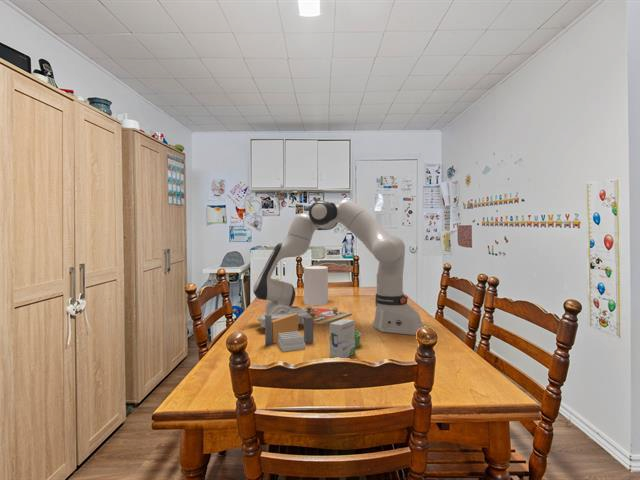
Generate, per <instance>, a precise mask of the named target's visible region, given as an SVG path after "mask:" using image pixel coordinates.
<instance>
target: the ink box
mask: <svg viewBox="0 0 640 480" xmlns="http://www.w3.org/2000/svg"><path fill="white" fill-rule="evenodd" d="M328 325H329V330H328V332H329V358H331V357H340V358H346V359H348V358H349V357H352V356H353V355H355V354H356V348H355V331H356V330H355V328H356V327H355V320H353V319H347V318H342V319H340V320H337V321H334V322H332V323H329V324H328Z"/></svg>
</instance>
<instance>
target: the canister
mask: <svg viewBox="0 0 640 480" xmlns="http://www.w3.org/2000/svg"><path fill="white" fill-rule="evenodd" d="M303 304H304V305H306V306H316V307H317V306H325V305H328V304H329V268H328V266H325V265H307V266H303Z"/></svg>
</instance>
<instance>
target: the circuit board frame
mask: <svg viewBox="0 0 640 480" xmlns="http://www.w3.org/2000/svg"><path fill="white" fill-rule="evenodd" d="M303 319H304V323H303V334H302V333H301V332H299V330H298V331H295V332H286V333H278V342H277V346H278V347H279V349H280V350H281V352H283V353H284V352H294V351H300V350H306V344H311V343H314V324H313V317H312V316H303ZM264 335H265V338H264V339H265V340H264V343H265V344H264V345H265V346H266V347H267V346H269V347H270V346H272V345H273V343H272V315H270V314H267V315H265V327H264Z"/></svg>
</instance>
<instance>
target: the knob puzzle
mask: <svg viewBox="0 0 640 480" xmlns="http://www.w3.org/2000/svg"><path fill="white" fill-rule="evenodd" d="M300 308H301V310H304V311H306V312H307V313H308V314H309V316H312V317H313V325H318V326H325V325H329V324H330V323H332V322H336V321H339V320H342V319H346V318H347V317H351V316H352V315H353V313H352V312H348V311H344V310H339V308H338V307H332V308H331V307H312V305H306V306H305V307H300Z"/></svg>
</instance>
